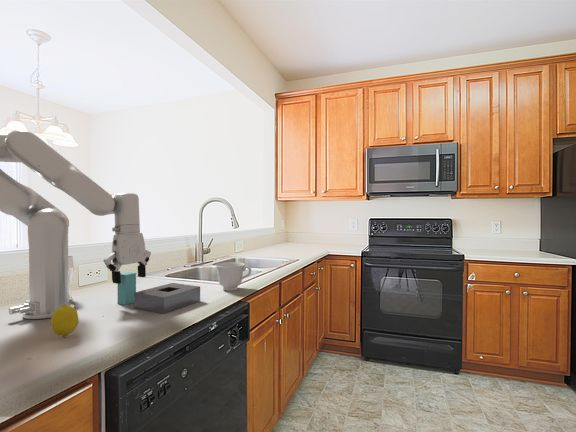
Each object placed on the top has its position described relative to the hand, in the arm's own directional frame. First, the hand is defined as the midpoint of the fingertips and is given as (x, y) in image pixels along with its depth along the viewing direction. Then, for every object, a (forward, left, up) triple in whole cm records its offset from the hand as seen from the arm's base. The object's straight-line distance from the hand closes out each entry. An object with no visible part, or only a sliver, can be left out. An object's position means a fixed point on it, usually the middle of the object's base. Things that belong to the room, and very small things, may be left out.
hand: (129, 279), depth 109 cm
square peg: (-1, 0, -8) cm, 8 cm away
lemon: (-28, -13, -8) cm, 31 cm away
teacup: (+31, -21, -8) cm, 38 cm away
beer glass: (-9, +23, -8) cm, 26 cm away
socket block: (+4, -14, -8) cm, 16 cm away
